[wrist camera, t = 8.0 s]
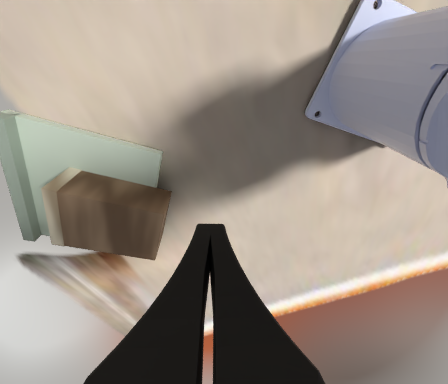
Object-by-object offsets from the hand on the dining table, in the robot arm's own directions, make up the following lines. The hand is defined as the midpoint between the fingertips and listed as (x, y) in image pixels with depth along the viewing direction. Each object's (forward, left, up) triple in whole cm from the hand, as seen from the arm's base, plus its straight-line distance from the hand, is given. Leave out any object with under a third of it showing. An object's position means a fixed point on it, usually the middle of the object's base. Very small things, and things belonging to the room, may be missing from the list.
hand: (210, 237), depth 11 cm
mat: (+10, +7, -10) cm, 16 cm away
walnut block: (+3, +7, -7) cm, 11 cm away
